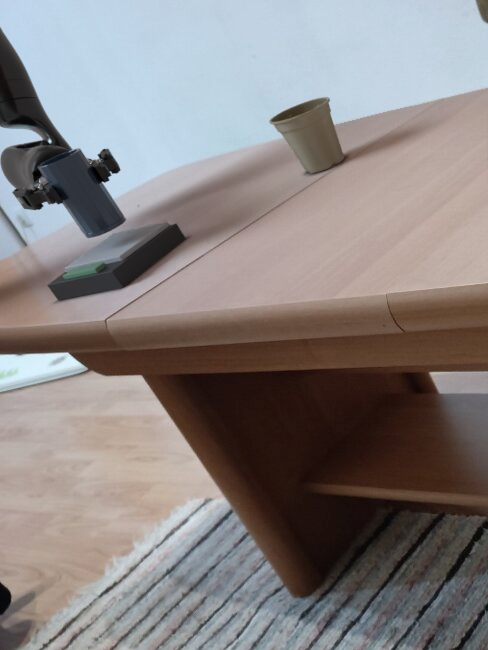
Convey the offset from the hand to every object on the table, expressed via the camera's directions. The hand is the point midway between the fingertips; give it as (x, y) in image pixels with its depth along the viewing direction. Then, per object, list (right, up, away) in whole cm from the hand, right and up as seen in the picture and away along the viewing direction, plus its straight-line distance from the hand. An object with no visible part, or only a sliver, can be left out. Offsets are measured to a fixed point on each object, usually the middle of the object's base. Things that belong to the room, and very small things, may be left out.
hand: (79, 184), depth 112 cm
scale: (+2, -9, +8) cm, 12 cm away
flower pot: (+26, +9, +21) cm, 34 cm away
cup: (0, -4, +5) cm, 7 cm away
